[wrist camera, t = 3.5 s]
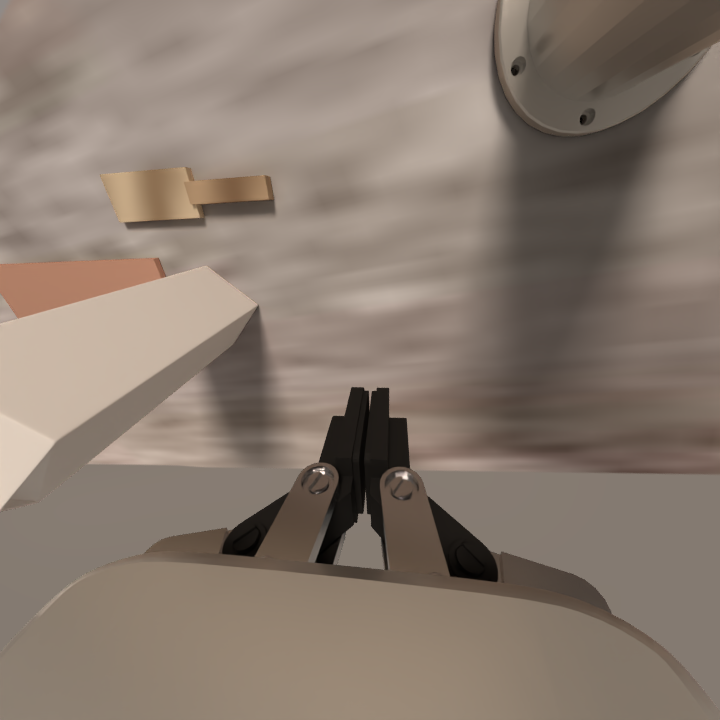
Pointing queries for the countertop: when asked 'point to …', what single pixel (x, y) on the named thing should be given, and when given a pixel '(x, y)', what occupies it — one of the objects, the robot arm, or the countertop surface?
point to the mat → (70, 281)
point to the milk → (103, 372)
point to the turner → (177, 193)
